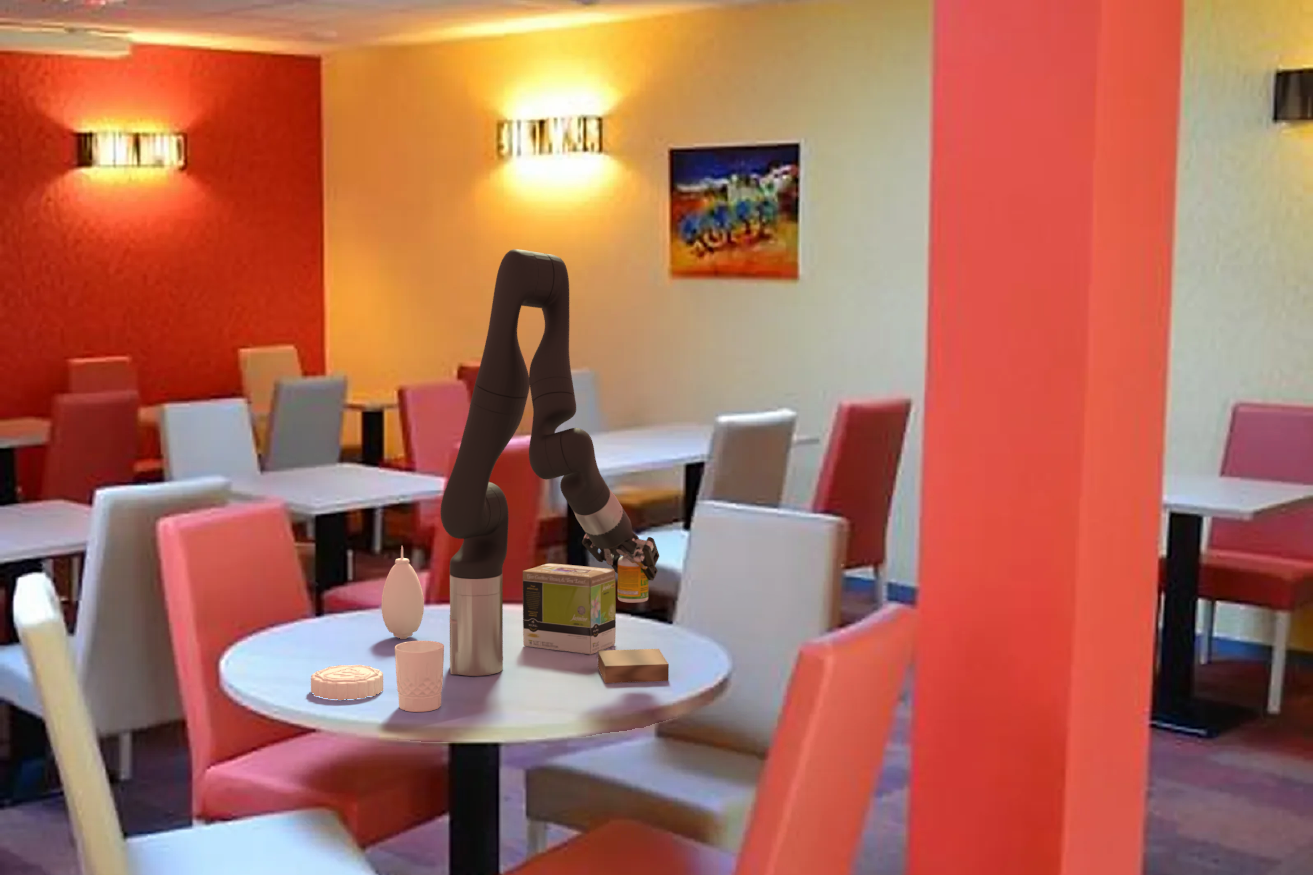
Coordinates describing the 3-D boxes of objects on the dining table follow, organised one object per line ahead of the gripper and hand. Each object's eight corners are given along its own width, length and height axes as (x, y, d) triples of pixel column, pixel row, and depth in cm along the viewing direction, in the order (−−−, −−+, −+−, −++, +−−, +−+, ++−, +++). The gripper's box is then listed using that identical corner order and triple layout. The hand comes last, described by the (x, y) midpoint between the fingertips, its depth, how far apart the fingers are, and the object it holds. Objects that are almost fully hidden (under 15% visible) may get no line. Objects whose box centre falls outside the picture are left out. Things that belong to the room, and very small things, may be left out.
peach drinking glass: (446, 700, 261) (446, 640, 259) (441, 713, 253) (441, 652, 252) (398, 700, 260) (398, 640, 259) (392, 713, 252) (391, 652, 251)
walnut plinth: (605, 683, 272) (605, 666, 271) (597, 667, 282) (597, 650, 282) (668, 681, 273) (668, 664, 273) (658, 665, 284) (658, 648, 284)
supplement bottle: (644, 603, 273) (645, 548, 272) (614, 602, 274) (614, 546, 273) (651, 597, 278) (651, 543, 277) (621, 596, 279) (621, 541, 278)
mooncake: (346, 706, 257) (346, 684, 257) (295, 694, 264) (295, 673, 264) (398, 690, 267) (398, 669, 267) (348, 679, 274) (347, 659, 273)
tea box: (617, 645, 299) (617, 568, 297) (590, 656, 290) (590, 577, 289) (549, 636, 306) (549, 560, 304) (521, 646, 297) (520, 569, 296)
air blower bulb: (374, 637, 304) (373, 544, 302) (408, 631, 309) (407, 540, 307) (396, 644, 298) (395, 550, 296) (431, 638, 303) (430, 545, 301)
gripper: (646, 501, 264) (681, 561, 276) (574, 495, 272) (612, 553, 283) (629, 537, 260) (665, 596, 272) (557, 529, 268) (595, 587, 279)
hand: (638, 574), depth 277 cm, fingers closed on supplement bottle, 5 cm apart
